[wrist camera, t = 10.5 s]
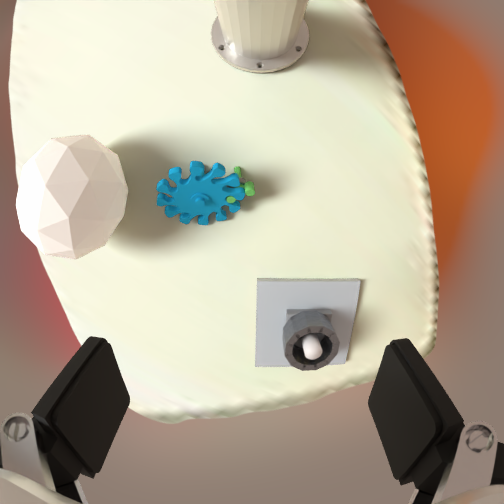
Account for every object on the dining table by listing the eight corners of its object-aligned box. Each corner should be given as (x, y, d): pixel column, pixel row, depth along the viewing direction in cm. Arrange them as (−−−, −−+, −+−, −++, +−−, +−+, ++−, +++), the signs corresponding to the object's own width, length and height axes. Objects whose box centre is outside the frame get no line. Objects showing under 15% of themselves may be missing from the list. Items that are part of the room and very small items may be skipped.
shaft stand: (257, 278, 37) (257, 301, 30) (358, 278, 37) (377, 299, 30) (255, 362, 41) (254, 393, 34) (343, 360, 41) (355, 388, 34)
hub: (284, 310, 36) (287, 326, 32) (335, 310, 35) (343, 325, 32) (281, 353, 37) (283, 371, 34) (328, 351, 37) (334, 368, 33)
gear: (164, 232, 34) (145, 175, 25) (167, 196, 37) (153, 139, 28) (252, 225, 35) (258, 167, 26) (247, 190, 38) (251, 132, 29)
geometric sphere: (137, 184, 39) (165, 219, 28) (66, 247, 36) (68, 306, 26) (86, 110, 29) (87, 107, 19) (9, 182, 26) (-23, 219, 16)
